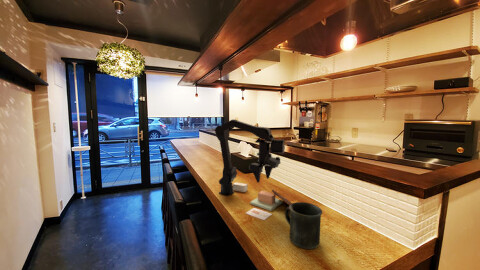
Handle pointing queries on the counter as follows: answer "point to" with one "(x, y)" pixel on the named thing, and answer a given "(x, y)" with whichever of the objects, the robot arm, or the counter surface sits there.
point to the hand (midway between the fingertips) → (263, 180)
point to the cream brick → (240, 187)
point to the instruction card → (258, 213)
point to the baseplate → (266, 204)
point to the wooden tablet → (282, 197)
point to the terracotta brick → (266, 197)
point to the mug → (304, 224)
